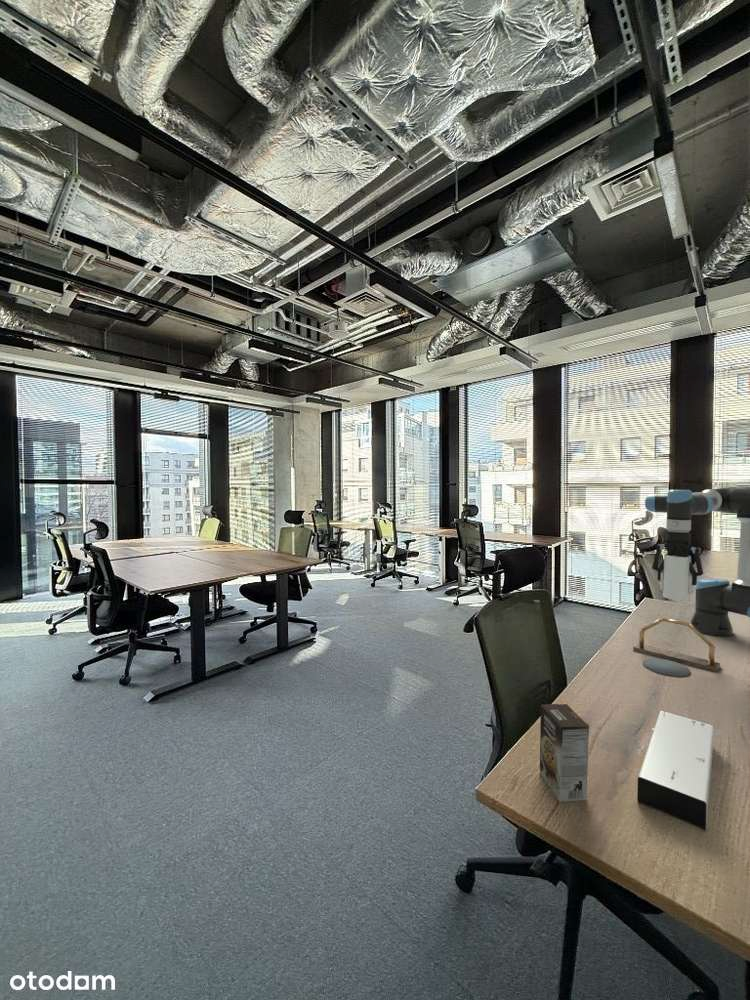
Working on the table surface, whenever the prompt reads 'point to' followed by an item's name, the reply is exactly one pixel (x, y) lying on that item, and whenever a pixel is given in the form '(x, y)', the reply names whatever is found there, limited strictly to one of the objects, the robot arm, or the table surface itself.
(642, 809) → the table surface
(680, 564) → the cup
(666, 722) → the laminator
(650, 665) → the mat
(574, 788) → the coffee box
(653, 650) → the buzz wire
